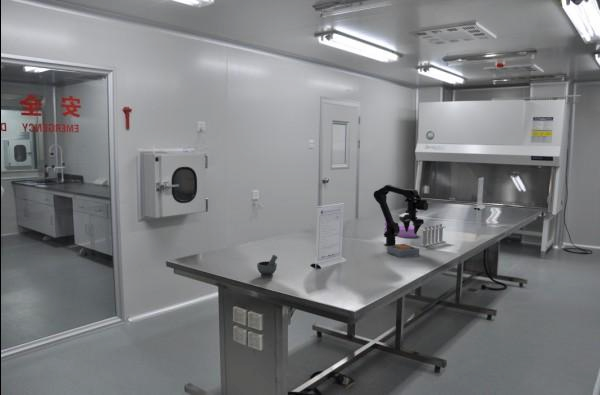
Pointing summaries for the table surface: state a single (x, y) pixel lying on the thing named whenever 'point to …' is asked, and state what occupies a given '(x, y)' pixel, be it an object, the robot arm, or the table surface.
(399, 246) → the small crate
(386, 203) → the robot arm
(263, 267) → the mortar and pestle
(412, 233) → the container set
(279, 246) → the table surface
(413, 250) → the large crate
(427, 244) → the test tube rack
